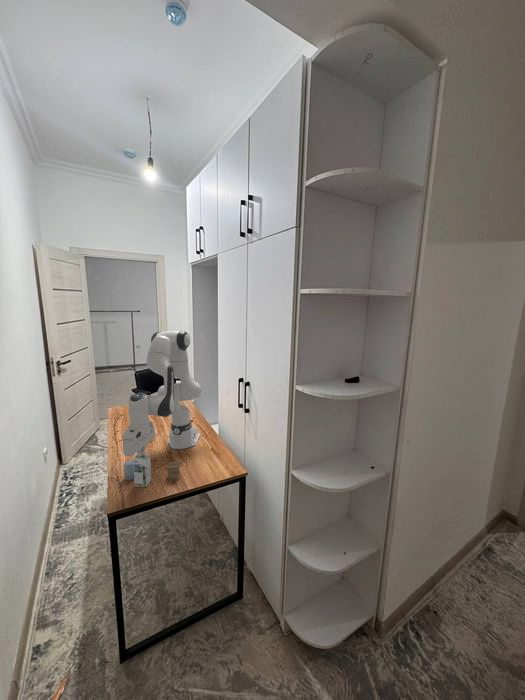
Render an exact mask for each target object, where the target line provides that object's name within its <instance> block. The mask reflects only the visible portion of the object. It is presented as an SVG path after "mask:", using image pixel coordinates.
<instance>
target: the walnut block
mask: <svg viewBox="0 0 525 700" xmlns="http://www.w3.org/2000/svg"><path fill="white" fill-rule="evenodd" d="M166 468H167V482H169V481H179V478H180V461H170V462H168V465H167V467H166Z"/></svg>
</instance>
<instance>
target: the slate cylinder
mask: <svg viewBox="0 0 525 700" xmlns="http://www.w3.org/2000/svg"><path fill="white" fill-rule="evenodd" d="M123 470H124V471H123V473H124V480H125V481H126V482H130V481H131V482H132V481H134V464H133V459H131V460H127V461H125V462H124V463H123Z"/></svg>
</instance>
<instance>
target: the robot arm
mask: <svg viewBox="0 0 525 700" xmlns="http://www.w3.org/2000/svg"><path fill="white" fill-rule="evenodd" d="M150 342H151V343H150V346H149V349H148V352H147V357H146V366H147V367H148V369H149V370H151V371H152V372H154V373H155V374H157V375H159V376H162V378H163V385H161V386H159V388H158V390H157V391H156V393H157V395H153V394H152V395H151V394H146V393H145V392H136V393H133V394H131V396H129V400H128V407H127V409H128V410H127V411H128V414H127V415H128V416H129V422H128V424H129V425H128V426H127V428H126V430H125V431H124V432H123V434H122V435H121V437H122V439H123V441H122V450H123V455H124V456H125V457H132V456H134V455H135V454H136V453H137V455H138V457H141V456H142V455H143V454H146V453H145V451H146V448H147V444H149V443H150V442H151V441H152V440H154V439H155V437H156V431H155V430H156V429H155V425H154V422H153V421H152V420H150V418H149V416H158V417H164V418H167V417H171V423H170V430H169V435H168V440H167V444H168V445H169V447H170V448H171V449H174V450H185V449H189V448H190V447H196V446H197V444H198V442H199V440H200V438H201V433H199V432H198V431H197V427H196V426H194V425H192V423H193V422H194V419H193V418H191V410H190V408H189V407H187V406H186V405H184V404H181V403H180V402H184V401H185V402H186V401H192V400H197V399H199V398H200V397H201V395H202V391H203V389H202V386H201V385H200V383H198V382H197V381H196V380H194V378H193V377H192V375H191V373H190V368H189V366H190V365H189V354H188V348H189V346H190V345H191V337H190V335H189V333H188V332H187V331H184V330H166V331H155V332H154V333H153V334H152V335H151V338H150ZM175 379H179V381H180V382H177V383H175ZM199 437H200V438H199ZM198 439H199V440H198Z"/></svg>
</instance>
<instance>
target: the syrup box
mask: <svg viewBox="0 0 525 700" xmlns="http://www.w3.org/2000/svg"><path fill="white" fill-rule="evenodd" d="M132 460H133V464H134V479H133V481H134V487H140V488H146V487H147V486H148V485H149V484H150V483H151V482H152V467H151V466H152V465H151V454H150V453H145V454H143V455H142V456H141V457H138V454H136V455H135V456H134V457H133V458H132Z"/></svg>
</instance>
